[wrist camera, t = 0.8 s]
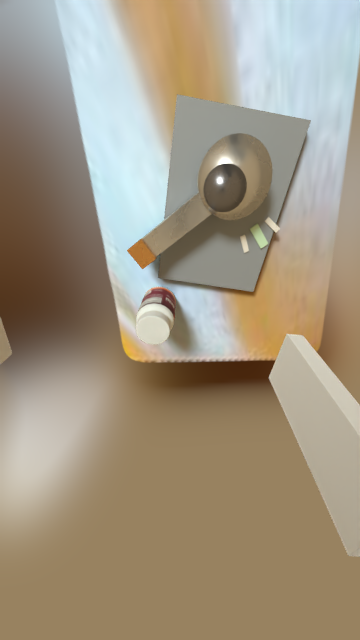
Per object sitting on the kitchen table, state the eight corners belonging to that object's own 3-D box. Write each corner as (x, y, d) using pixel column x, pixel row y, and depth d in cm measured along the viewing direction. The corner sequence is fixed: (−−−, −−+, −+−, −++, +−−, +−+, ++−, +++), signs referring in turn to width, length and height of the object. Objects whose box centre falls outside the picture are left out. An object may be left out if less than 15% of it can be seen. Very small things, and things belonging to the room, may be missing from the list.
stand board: (177, 100, 22) (177, 93, 21) (309, 125, 23) (317, 120, 22) (159, 274, 31) (158, 278, 30) (254, 288, 32) (257, 293, 31)
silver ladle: (242, 121, 22) (252, 108, 18) (274, 188, 24) (288, 188, 21) (120, 228, 27) (111, 234, 23) (157, 274, 29) (154, 285, 26)
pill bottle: (179, 311, 34) (177, 344, 27) (149, 317, 35) (139, 350, 28) (171, 282, 32) (167, 309, 25) (139, 288, 32) (126, 317, 25)
